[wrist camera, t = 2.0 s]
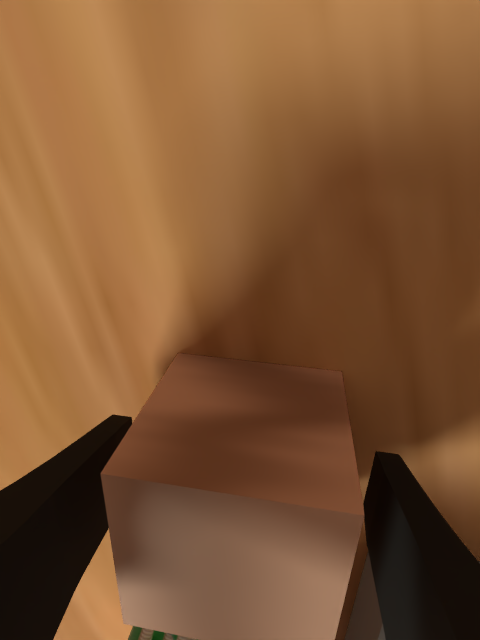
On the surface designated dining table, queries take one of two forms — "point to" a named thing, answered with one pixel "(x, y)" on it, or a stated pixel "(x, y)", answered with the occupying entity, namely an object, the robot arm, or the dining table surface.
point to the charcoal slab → (366, 610)
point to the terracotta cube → (236, 503)
